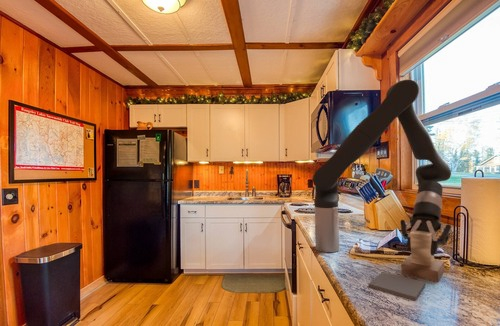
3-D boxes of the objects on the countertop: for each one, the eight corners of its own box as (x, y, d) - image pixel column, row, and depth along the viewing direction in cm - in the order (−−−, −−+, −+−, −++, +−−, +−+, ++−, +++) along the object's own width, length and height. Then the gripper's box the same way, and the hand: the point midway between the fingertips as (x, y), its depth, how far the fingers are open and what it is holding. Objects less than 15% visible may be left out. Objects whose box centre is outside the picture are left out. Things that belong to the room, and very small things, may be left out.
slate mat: (368, 286, 69) (368, 283, 69) (382, 274, 77) (382, 271, 77) (415, 300, 61) (415, 297, 61) (425, 285, 69) (425, 282, 69)
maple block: (411, 262, 78) (410, 232, 78) (415, 258, 81) (414, 230, 82) (431, 266, 74) (429, 235, 75) (434, 262, 78) (433, 232, 78)
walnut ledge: (401, 273, 77) (401, 263, 77) (410, 263, 85) (410, 254, 85) (438, 282, 71) (437, 271, 71) (444, 270, 78) (444, 261, 78)
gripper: (401, 199, 89) (391, 241, 80) (453, 202, 79) (449, 250, 70) (405, 212, 92) (397, 253, 83) (456, 216, 82) (452, 264, 73)
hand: (421, 251), depth 77 cm, fingers closed on maple block, 5 cm apart
